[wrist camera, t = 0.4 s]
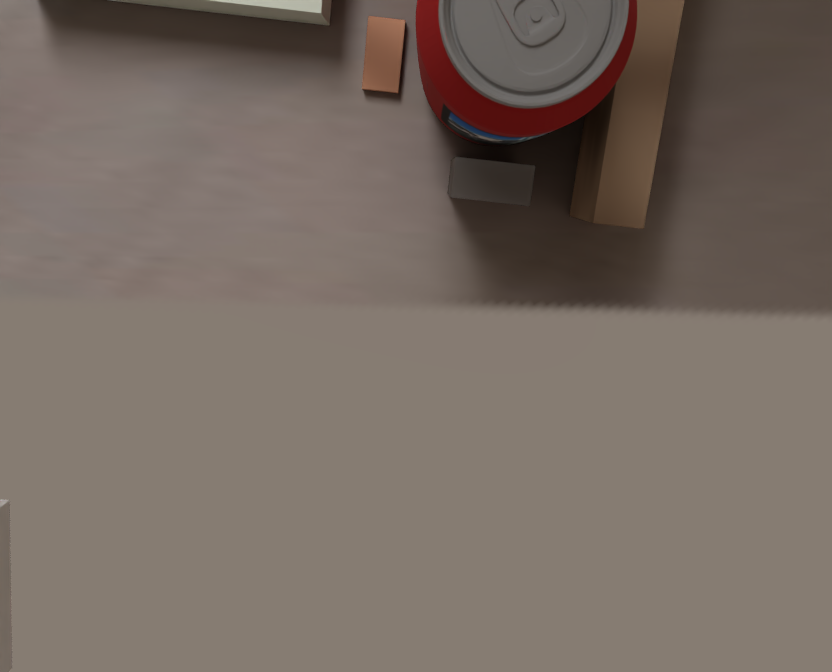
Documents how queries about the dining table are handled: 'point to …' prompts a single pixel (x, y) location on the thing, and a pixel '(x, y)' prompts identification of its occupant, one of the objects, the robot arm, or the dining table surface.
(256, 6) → the tray
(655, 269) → the dining table surface
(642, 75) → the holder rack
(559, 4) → the beverage can
